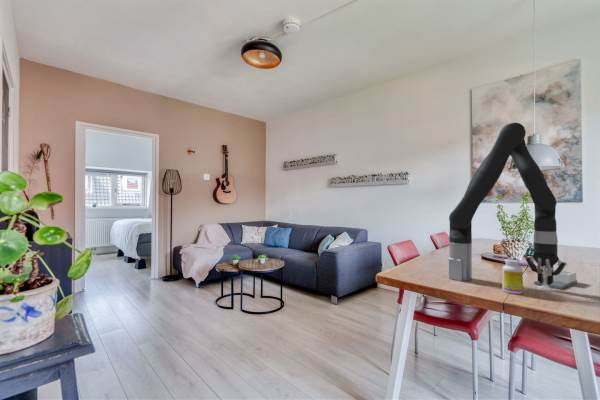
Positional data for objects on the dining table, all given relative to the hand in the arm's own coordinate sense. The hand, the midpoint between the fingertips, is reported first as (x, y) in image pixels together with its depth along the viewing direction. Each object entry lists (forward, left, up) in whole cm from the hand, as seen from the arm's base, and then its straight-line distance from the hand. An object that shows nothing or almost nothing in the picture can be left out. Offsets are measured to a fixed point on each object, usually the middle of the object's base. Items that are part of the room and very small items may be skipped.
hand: (545, 283), depth 119 cm
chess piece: (0, 0, -3) cm, 3 cm away
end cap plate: (+15, +1, -3) cm, 15 cm away
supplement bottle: (-15, +6, -3) cm, 16 cm away
